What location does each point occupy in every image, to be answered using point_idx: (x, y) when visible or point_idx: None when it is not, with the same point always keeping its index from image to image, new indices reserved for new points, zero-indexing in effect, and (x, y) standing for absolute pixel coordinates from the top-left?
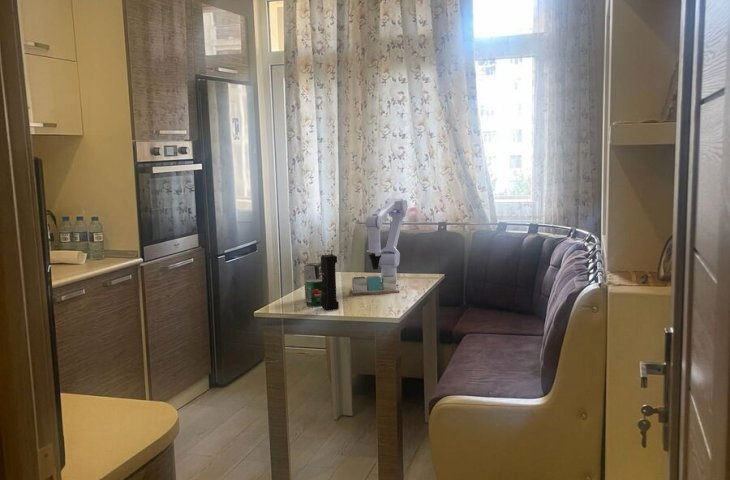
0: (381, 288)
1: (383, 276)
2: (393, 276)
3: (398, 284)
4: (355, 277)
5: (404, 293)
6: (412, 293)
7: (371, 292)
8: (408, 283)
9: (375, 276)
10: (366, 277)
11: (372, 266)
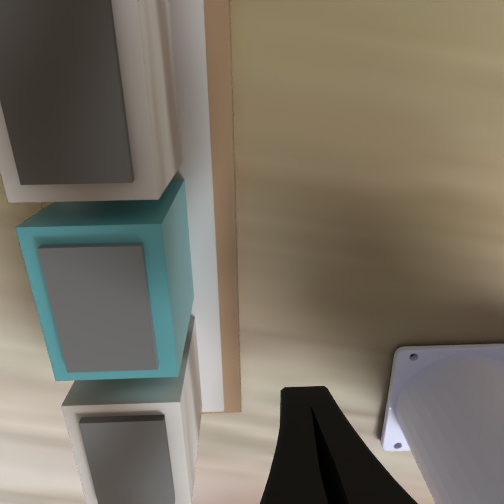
0: (191, 314)
1: (127, 415)
2: (98, 495)
3: (382, 447)
4: (65, 22)
5: (50, 429)
6: (41, 469)
7: (47, 202)
8: (424, 499)
9: (100, 336)
10: (154, 221)
11: (313, 413)
